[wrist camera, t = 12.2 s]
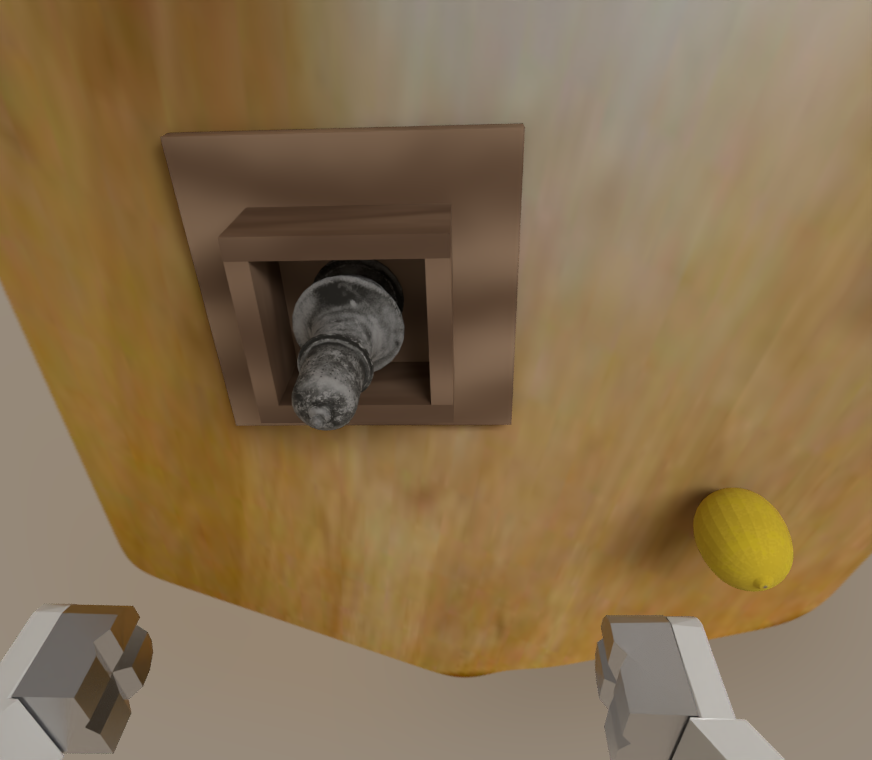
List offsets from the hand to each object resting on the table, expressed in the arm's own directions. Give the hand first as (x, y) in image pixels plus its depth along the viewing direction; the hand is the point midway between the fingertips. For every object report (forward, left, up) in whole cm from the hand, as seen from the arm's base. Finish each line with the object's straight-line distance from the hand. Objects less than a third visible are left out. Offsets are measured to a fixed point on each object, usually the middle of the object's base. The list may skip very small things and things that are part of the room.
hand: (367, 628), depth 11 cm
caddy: (+6, -4, -26) cm, 27 cm away
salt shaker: (+6, -4, -25) cm, 26 cm away
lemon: (+22, +20, -26) cm, 39 cm away
